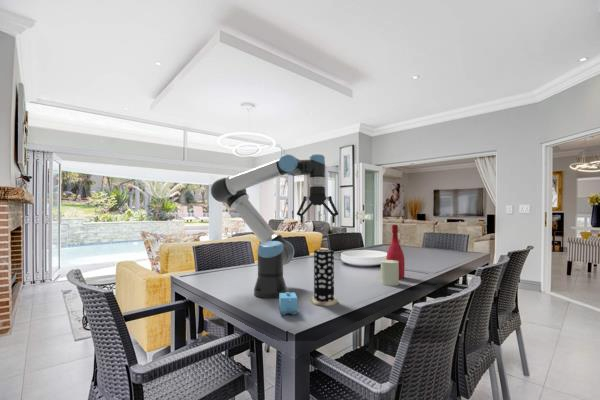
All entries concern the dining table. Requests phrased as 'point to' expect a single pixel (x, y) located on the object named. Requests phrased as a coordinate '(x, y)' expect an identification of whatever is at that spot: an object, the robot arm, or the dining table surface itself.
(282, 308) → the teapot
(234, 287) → the dining table surface
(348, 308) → the dining table surface
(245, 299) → the dining table surface
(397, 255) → the wine bottle
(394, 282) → the can
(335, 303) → the birch coaster
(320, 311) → the dining table surface
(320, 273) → the white-spotted black cylinder
